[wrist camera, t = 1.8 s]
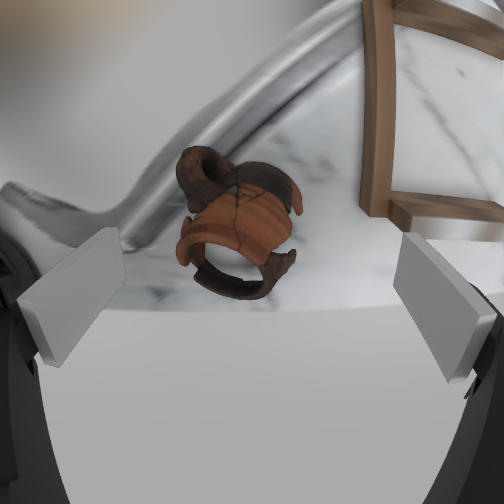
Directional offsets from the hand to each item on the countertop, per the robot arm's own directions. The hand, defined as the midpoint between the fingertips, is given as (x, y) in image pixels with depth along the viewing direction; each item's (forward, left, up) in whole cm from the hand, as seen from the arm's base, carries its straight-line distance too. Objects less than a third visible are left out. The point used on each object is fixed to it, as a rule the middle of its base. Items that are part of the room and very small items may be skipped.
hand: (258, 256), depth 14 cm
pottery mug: (-1, +1, -14) cm, 14 cm away
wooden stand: (+17, +8, -13) cm, 22 cm away
